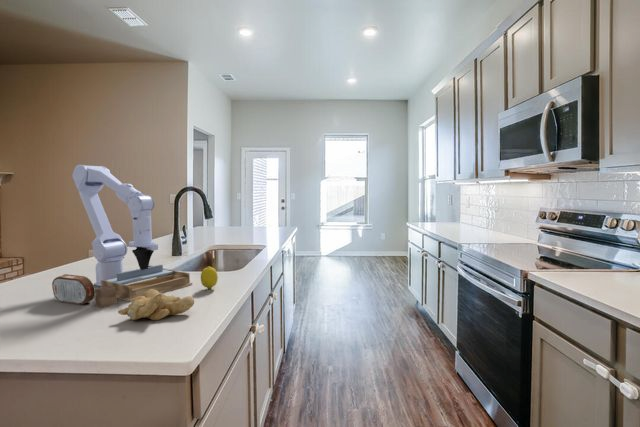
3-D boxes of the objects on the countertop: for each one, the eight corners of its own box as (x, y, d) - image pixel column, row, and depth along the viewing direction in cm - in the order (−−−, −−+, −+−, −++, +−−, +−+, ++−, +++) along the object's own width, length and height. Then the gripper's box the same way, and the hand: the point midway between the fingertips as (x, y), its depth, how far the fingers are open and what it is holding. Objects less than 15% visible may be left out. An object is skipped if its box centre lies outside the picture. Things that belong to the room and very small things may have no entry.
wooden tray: (99, 292, 120) (99, 280, 120) (161, 278, 139) (161, 267, 139) (130, 301, 110) (129, 288, 110) (192, 284, 129) (191, 273, 129)
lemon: (213, 291, 119) (212, 268, 119) (197, 291, 121) (197, 267, 120) (220, 287, 125) (220, 264, 124) (206, 286, 126) (205, 264, 125)
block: (95, 305, 107) (94, 288, 107) (109, 301, 111) (108, 285, 110) (102, 307, 105) (101, 290, 105) (116, 303, 108) (115, 287, 108)
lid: (105, 282, 120) (105, 273, 120) (159, 270, 137) (159, 262, 137) (119, 285, 116) (118, 276, 116) (173, 273, 132) (172, 264, 132)
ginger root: (109, 313, 96) (116, 283, 97) (166, 311, 108) (171, 285, 109) (134, 329, 86) (141, 296, 87) (193, 326, 98) (199, 296, 99)
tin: (96, 303, 109) (94, 276, 108) (86, 306, 106) (85, 278, 105) (61, 299, 114) (59, 272, 113) (50, 302, 111) (49, 275, 110)
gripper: (119, 230, 125) (121, 268, 126) (143, 232, 117) (145, 274, 118) (139, 228, 131) (140, 265, 132) (163, 230, 123) (164, 269, 124)
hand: (144, 269), depth 125 cm, fingers closed
